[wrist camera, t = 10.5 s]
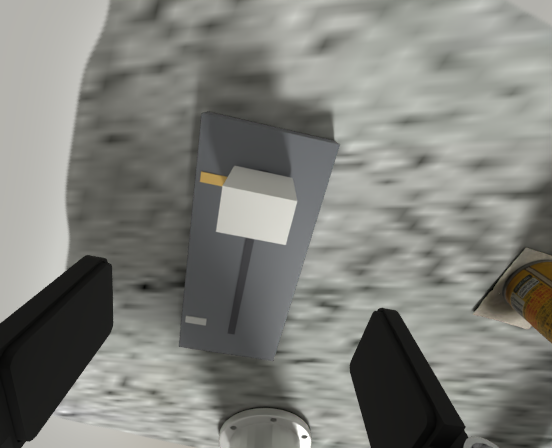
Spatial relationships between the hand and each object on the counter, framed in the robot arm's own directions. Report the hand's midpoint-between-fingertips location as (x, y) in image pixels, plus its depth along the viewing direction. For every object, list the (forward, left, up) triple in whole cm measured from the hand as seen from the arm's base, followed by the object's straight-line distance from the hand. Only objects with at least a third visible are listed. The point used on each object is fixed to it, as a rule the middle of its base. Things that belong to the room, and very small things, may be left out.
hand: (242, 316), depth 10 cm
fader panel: (-6, 0, -15) cm, 16 cm away
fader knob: (+1, 0, -13) cm, 13 cm away
